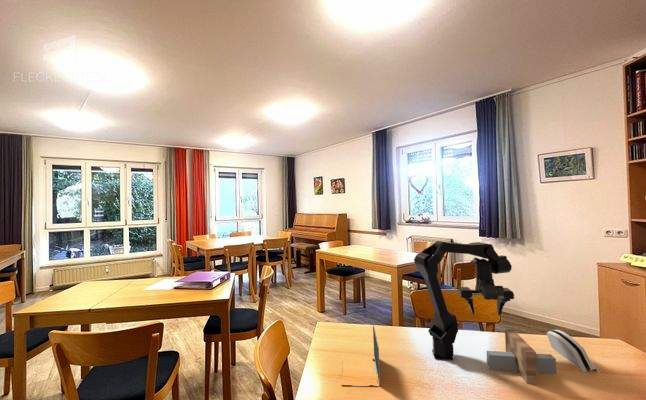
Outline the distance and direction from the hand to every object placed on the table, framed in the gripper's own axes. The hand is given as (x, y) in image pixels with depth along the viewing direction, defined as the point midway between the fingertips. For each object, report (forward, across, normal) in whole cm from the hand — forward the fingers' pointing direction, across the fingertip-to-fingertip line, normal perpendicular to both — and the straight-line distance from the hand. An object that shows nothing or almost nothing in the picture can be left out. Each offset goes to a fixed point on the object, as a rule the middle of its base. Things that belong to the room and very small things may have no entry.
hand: (485, 314), depth 115 cm
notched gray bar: (+13, +6, -14) cm, 20 cm away
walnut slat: (+13, +6, -14) cm, 20 cm away
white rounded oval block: (+13, +26, -5) cm, 29 cm away
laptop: (+14, -48, -22) cm, 54 cm away
